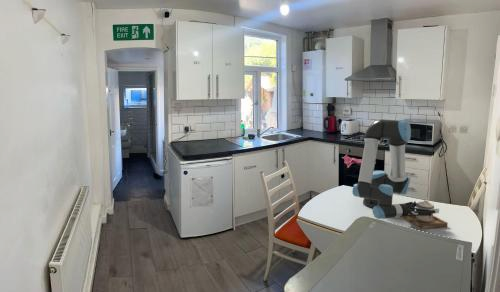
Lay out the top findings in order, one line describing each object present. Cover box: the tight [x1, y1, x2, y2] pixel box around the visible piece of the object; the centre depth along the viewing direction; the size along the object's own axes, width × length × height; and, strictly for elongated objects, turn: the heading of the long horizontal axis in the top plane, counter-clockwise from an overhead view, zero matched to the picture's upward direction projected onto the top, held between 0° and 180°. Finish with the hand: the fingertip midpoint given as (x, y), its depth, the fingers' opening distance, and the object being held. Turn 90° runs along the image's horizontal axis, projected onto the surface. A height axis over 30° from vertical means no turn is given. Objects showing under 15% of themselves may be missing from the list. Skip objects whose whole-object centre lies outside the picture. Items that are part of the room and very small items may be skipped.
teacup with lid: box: [416, 199, 435, 222], centre depth 209 cm, size 12×9×12 cm
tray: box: [402, 214, 448, 230], centre depth 210 cm, size 17×17×2 cm
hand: (432, 207), depth 210 cm, fingers closed on teacup with lid, 10 cm apart
